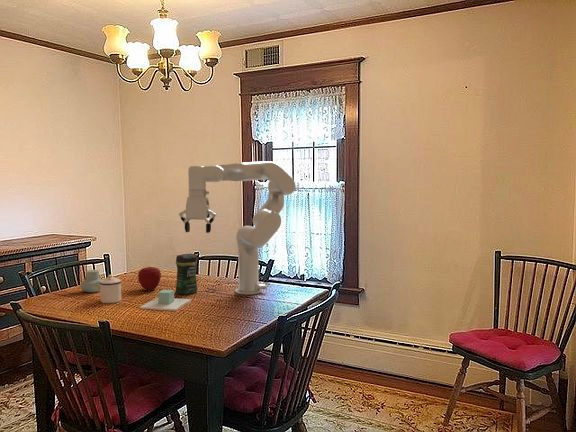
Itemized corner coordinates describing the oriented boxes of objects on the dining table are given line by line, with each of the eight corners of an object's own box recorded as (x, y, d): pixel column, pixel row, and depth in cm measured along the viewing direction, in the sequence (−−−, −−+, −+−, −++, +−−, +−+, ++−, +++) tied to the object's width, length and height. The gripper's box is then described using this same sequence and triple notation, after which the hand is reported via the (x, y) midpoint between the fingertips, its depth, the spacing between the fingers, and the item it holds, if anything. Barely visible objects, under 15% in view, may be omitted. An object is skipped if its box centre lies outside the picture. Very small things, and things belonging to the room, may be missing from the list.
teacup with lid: (126, 300, 223) (125, 274, 222) (109, 304, 215) (109, 278, 214) (107, 296, 229) (107, 271, 228) (91, 301, 221) (90, 275, 220)
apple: (164, 290, 242) (164, 266, 240) (142, 293, 236) (142, 268, 234) (156, 285, 251) (156, 262, 250) (135, 288, 245) (134, 265, 244)
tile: (191, 301, 222) (191, 299, 222) (175, 310, 206) (175, 308, 206) (157, 299, 225) (157, 297, 225) (140, 308, 209) (140, 306, 209)
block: (174, 301, 217) (174, 290, 217) (169, 304, 213) (169, 292, 212) (163, 300, 218) (163, 289, 218) (158, 303, 214) (158, 292, 213)
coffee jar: (183, 296, 231) (182, 256, 229) (173, 293, 236) (172, 254, 235) (200, 292, 238) (199, 253, 236) (190, 289, 243) (189, 251, 242)
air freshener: (89, 294, 233) (88, 273, 232) (77, 292, 237) (76, 271, 236) (108, 290, 242) (107, 269, 241) (96, 288, 246) (95, 267, 245)
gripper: (218, 193, 223) (219, 231, 224) (182, 193, 226) (183, 230, 228) (212, 194, 216) (213, 233, 217) (175, 194, 219) (176, 232, 221)
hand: (197, 232), depth 223 cm, fingers open, 9 cm apart
